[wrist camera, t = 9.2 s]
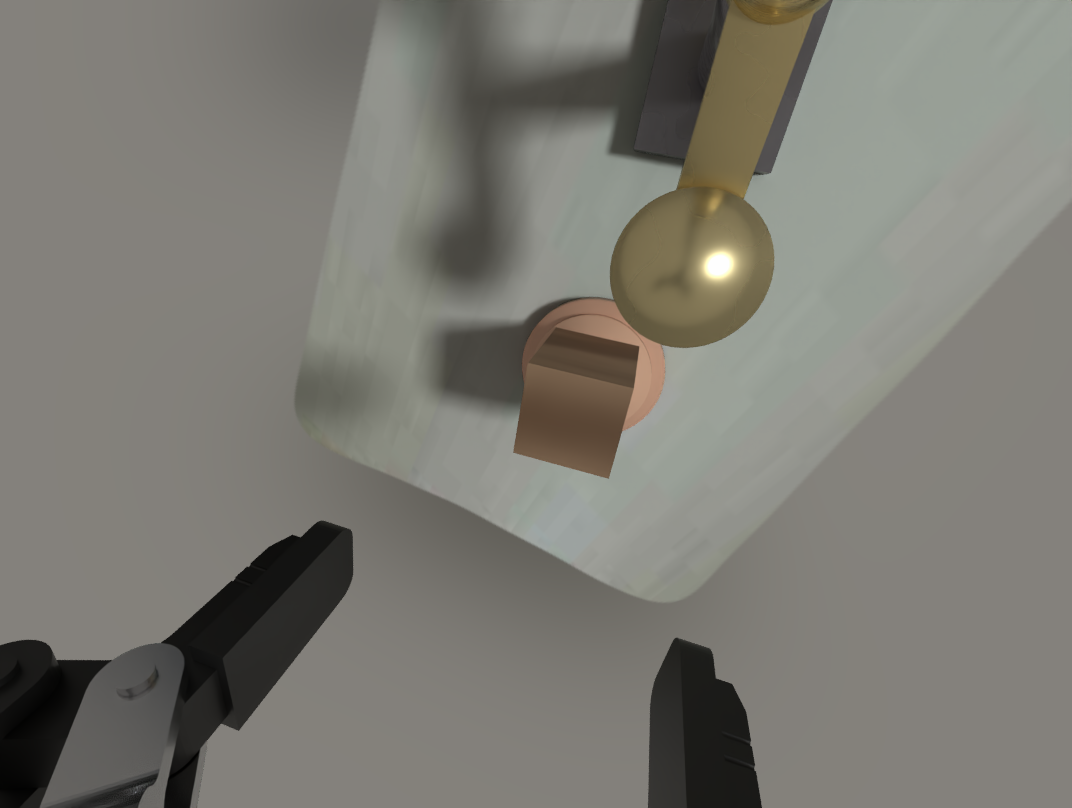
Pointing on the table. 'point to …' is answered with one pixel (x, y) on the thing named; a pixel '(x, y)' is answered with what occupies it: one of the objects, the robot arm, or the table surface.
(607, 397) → the walnut block
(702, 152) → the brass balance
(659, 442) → the table surface
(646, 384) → the terracotta dish
